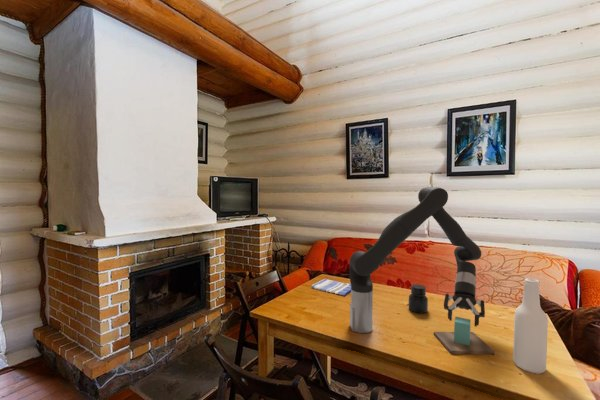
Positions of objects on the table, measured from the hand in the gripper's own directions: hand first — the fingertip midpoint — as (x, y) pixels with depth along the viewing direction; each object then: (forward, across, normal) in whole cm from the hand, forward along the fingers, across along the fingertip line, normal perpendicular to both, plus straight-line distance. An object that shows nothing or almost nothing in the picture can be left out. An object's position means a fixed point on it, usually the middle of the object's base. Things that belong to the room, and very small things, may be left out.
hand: (462, 322), depth 112 cm
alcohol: (+9, +20, +4) cm, 22 cm away
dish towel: (-14, -70, +27) cm, 76 cm away
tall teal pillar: (+5, 0, +5) cm, 7 cm away
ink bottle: (-11, -21, +23) cm, 33 cm away
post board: (+6, 0, +6) cm, 8 cm away
